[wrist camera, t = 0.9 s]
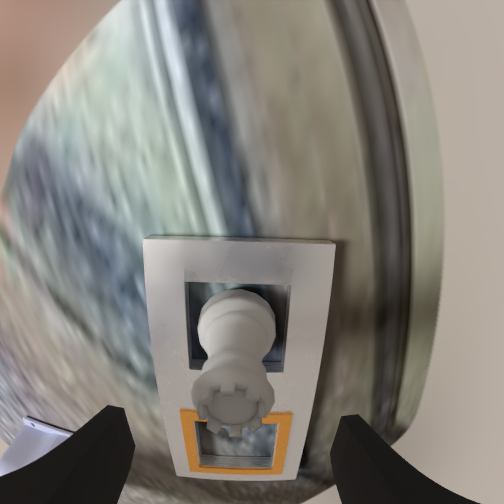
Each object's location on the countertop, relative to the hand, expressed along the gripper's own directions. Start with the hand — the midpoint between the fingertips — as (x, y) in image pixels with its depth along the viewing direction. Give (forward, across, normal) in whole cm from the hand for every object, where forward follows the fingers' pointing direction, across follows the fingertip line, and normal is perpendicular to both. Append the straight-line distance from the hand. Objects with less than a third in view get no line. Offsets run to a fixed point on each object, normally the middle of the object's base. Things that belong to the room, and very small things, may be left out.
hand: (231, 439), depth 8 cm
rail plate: (+9, 0, +5) cm, 10 cm away
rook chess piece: (+10, 0, 0) cm, 10 cm away
